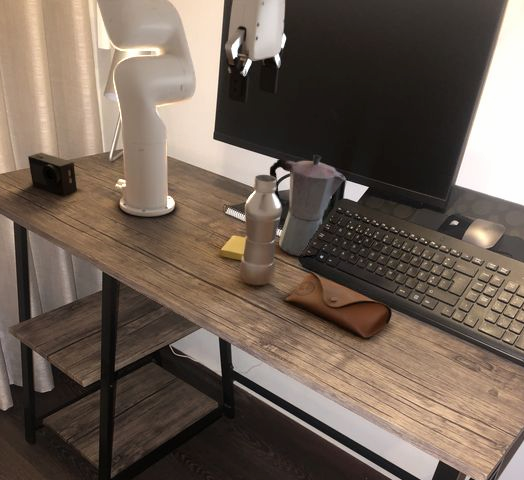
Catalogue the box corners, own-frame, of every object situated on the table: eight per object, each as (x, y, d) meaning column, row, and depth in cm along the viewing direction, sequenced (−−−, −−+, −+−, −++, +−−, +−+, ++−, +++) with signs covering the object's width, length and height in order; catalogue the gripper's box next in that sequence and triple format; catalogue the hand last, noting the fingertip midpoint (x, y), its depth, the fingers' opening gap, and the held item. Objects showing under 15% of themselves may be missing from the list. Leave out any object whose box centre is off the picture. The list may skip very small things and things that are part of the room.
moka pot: (330, 263, 114) (347, 167, 103) (257, 251, 116) (266, 155, 104) (335, 244, 122) (351, 152, 110) (266, 233, 124) (275, 141, 112)
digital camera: (28, 186, 134) (23, 157, 130) (45, 180, 138) (41, 151, 134) (60, 196, 130) (56, 167, 126) (77, 190, 134) (73, 161, 130)
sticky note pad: (220, 256, 113) (220, 249, 112) (233, 241, 119) (233, 234, 118) (255, 263, 112) (256, 257, 111) (266, 248, 118) (267, 242, 117)
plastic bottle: (237, 272, 108) (244, 170, 96) (272, 273, 109) (283, 172, 97) (239, 289, 103) (246, 184, 91) (275, 290, 104) (287, 186, 92)
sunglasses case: (281, 299, 100) (295, 265, 99) (297, 303, 106) (311, 271, 105) (368, 340, 92) (385, 303, 91) (380, 342, 98) (396, 307, 97)
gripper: (269, -30, 90) (259, 84, 101) (209, -30, 78) (205, 99, 88) (310, -23, 88) (296, 92, 98) (255, -23, 75) (245, 110, 86)
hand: (253, 96), depth 93 cm, fingers open, 9 cm apart
